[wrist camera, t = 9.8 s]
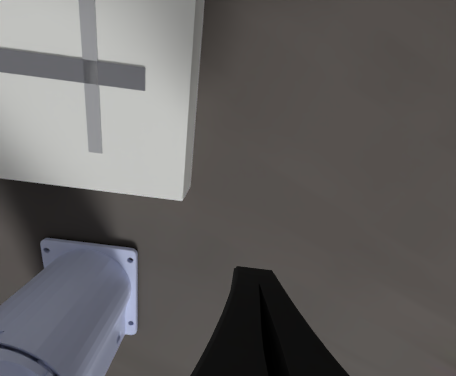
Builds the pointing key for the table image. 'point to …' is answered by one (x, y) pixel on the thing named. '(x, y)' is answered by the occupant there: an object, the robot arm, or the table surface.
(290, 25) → the table surface
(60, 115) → the white flat rectangular block
